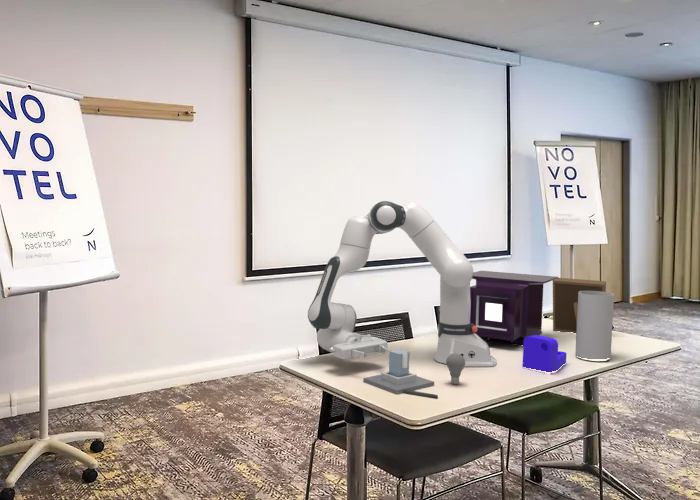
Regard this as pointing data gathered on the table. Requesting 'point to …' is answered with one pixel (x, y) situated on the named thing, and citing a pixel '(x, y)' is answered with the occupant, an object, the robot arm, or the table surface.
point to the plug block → (398, 363)
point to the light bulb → (455, 366)
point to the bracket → (542, 353)
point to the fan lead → (420, 393)
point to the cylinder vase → (594, 324)
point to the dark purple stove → (507, 305)
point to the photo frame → (570, 301)
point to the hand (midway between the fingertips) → (375, 353)
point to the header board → (398, 382)
